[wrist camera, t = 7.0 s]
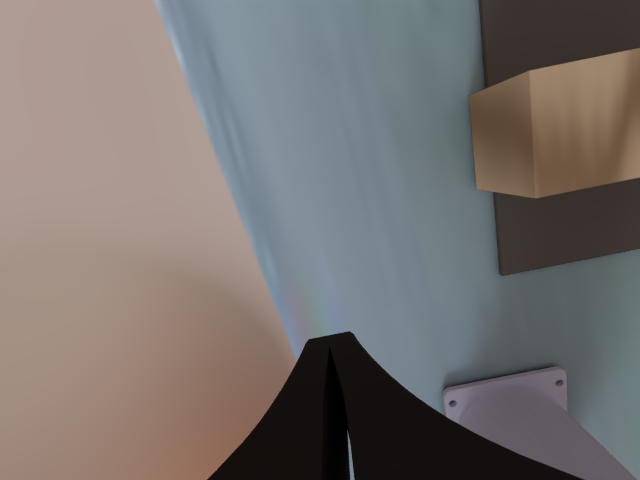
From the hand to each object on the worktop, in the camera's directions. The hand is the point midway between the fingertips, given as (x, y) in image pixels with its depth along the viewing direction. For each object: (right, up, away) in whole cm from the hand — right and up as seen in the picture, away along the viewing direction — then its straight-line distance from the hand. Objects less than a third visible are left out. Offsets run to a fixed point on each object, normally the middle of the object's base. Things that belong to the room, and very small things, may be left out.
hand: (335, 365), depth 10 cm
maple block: (+8, +8, +6) cm, 13 cm away
